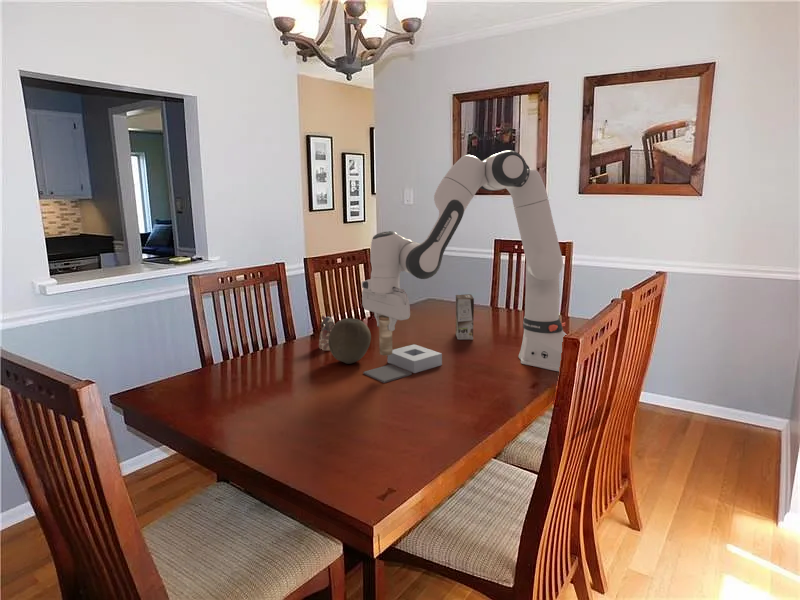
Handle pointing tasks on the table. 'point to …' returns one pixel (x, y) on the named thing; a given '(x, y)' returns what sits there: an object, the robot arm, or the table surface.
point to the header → (415, 358)
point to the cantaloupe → (349, 340)
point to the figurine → (325, 332)
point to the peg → (385, 336)
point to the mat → (387, 373)
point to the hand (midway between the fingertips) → (385, 328)
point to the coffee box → (464, 316)
